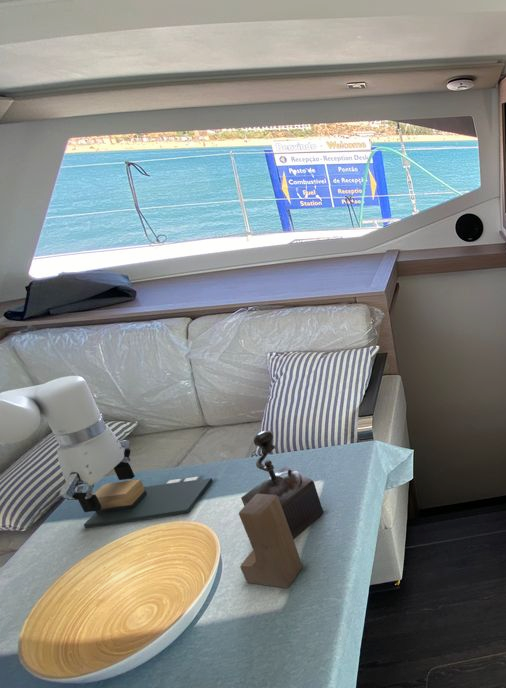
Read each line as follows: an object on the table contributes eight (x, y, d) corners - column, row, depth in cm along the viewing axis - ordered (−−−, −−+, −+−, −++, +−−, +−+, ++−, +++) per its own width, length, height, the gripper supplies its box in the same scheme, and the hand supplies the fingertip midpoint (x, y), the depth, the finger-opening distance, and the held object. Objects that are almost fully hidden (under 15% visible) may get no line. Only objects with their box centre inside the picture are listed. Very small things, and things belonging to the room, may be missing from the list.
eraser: (96, 513, 95) (88, 498, 93) (112, 498, 99) (104, 484, 98) (133, 508, 96) (125, 493, 94) (147, 493, 100) (140, 479, 98)
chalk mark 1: (168, 480, 104) (169, 482, 105) (165, 483, 103) (166, 485, 103) (181, 478, 105) (182, 480, 105) (178, 482, 103) (179, 483, 104)
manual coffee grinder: (327, 510, 92) (308, 444, 86) (280, 550, 83) (254, 481, 77) (286, 486, 100) (265, 425, 94) (239, 521, 91) (213, 455, 85)
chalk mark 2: (186, 478, 105) (186, 480, 105) (183, 481, 104) (183, 483, 104) (198, 476, 105) (199, 478, 105) (195, 479, 104) (196, 481, 104)
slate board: (85, 528, 93) (83, 524, 92) (119, 493, 102) (117, 490, 102) (188, 513, 94) (186, 509, 94) (213, 480, 104) (211, 477, 103)
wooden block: (246, 583, 77) (214, 510, 71) (263, 561, 81) (235, 490, 75) (288, 589, 76) (259, 515, 69) (303, 566, 80) (278, 494, 73)
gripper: (96, 411, 98) (122, 469, 103) (22, 460, 81) (59, 527, 87) (130, 407, 98) (154, 465, 104) (64, 456, 82) (97, 522, 88)
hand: (111, 493), depth 96 cm, fingers open, 9 cm apart
